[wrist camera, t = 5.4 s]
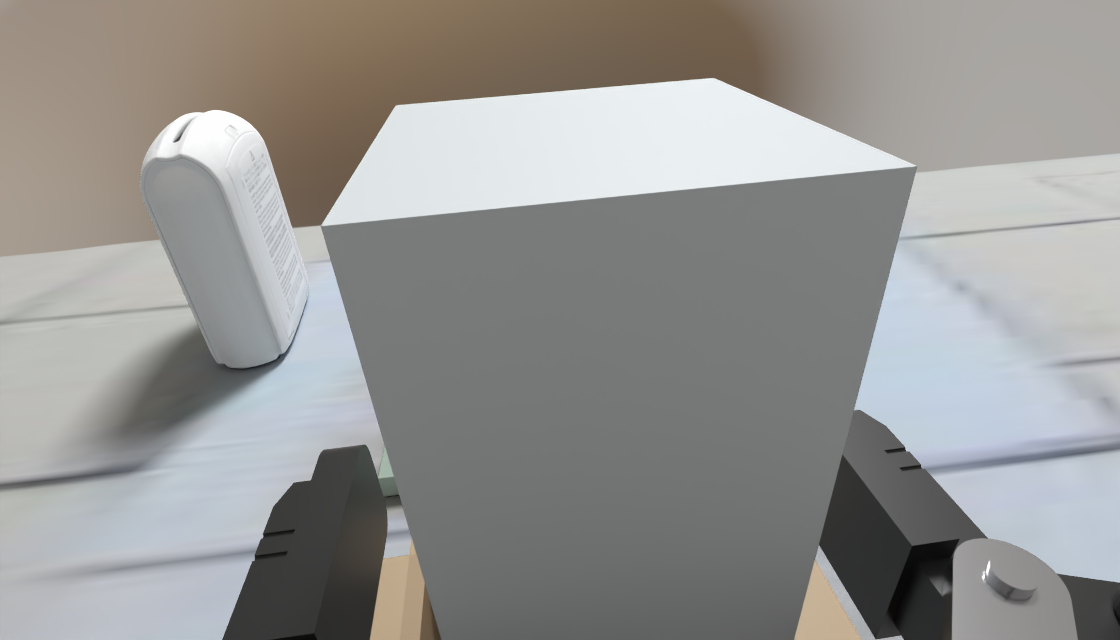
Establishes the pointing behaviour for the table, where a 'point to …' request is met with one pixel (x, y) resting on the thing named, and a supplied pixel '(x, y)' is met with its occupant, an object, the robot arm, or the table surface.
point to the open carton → (413, 636)
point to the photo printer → (226, 235)
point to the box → (615, 350)
